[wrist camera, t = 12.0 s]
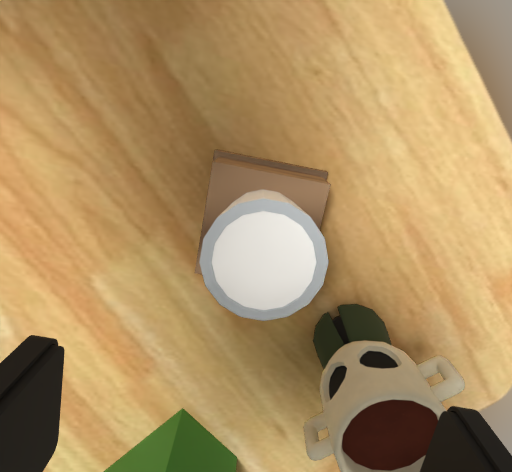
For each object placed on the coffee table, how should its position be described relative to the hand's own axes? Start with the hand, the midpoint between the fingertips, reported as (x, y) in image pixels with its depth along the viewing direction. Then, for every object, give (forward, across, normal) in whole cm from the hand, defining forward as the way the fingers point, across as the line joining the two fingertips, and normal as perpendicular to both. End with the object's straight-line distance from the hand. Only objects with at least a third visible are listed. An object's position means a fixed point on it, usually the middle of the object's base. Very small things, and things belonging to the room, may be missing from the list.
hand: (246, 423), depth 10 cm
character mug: (+24, -10, +9) cm, 28 cm away
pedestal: (+24, 0, 0) cm, 24 cm away
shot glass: (+19, -1, 0) cm, 19 cm away
